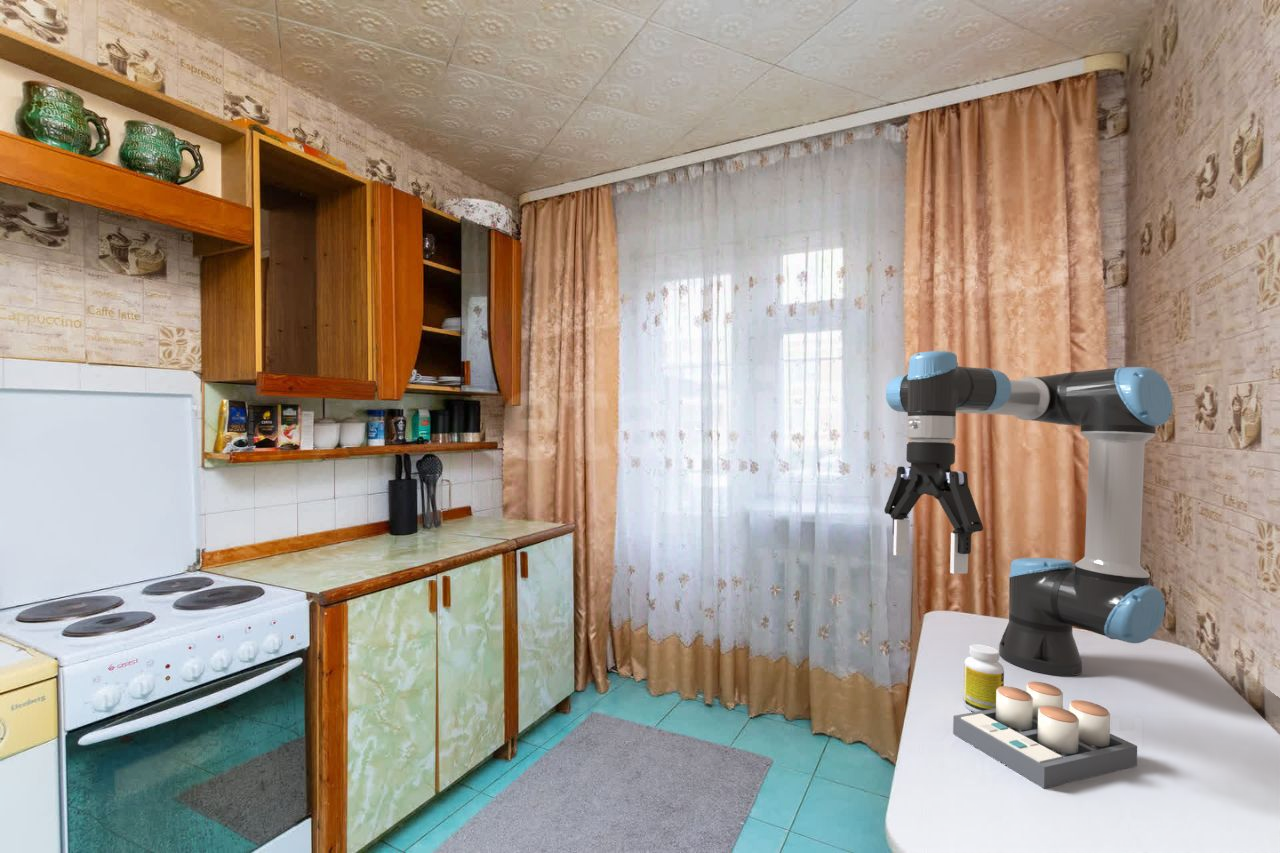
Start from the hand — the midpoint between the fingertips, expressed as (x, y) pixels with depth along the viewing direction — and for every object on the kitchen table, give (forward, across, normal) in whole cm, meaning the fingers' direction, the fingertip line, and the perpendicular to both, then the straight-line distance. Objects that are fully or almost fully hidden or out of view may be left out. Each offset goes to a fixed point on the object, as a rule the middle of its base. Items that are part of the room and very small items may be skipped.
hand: (928, 563), depth 97 cm
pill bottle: (+28, -2, +14) cm, 31 cm away
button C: (+24, +7, +11) cm, 28 cm away
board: (+27, +11, +12) cm, 32 cm away
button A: (+25, +7, +18) cm, 31 cm away
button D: (+25, +14, +11) cm, 31 cm away
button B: (+25, +14, +18) cm, 34 cm away
